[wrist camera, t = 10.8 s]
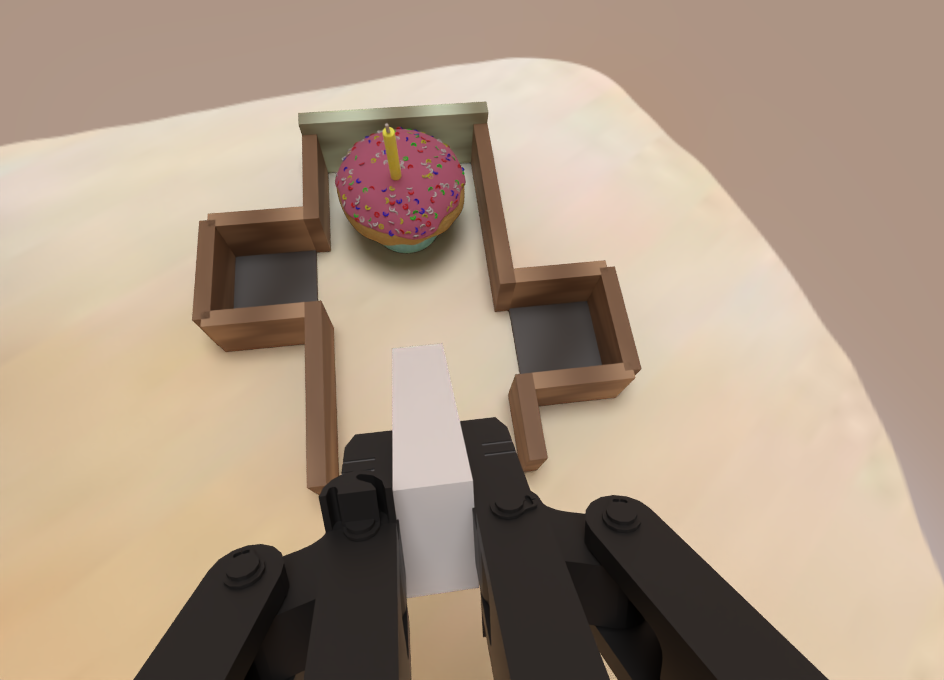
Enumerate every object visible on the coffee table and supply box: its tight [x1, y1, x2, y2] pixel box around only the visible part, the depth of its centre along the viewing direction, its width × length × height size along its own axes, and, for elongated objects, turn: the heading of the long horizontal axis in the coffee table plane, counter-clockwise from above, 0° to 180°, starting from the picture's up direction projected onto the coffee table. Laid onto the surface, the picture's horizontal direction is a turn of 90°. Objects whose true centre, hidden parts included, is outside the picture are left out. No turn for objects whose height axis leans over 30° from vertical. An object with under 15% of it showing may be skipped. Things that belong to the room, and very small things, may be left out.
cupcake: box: [335, 123, 466, 253], centre depth 35 cm, size 9×8×12 cm
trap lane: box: [192, 102, 641, 495], centre depth 35 cm, size 26×25×5 cm
